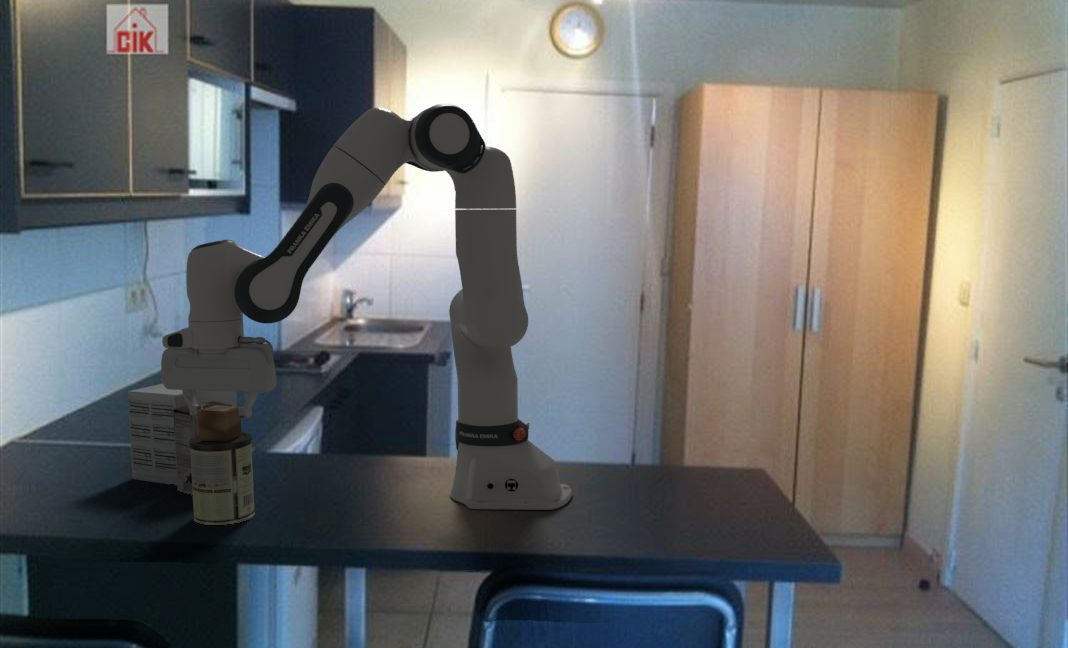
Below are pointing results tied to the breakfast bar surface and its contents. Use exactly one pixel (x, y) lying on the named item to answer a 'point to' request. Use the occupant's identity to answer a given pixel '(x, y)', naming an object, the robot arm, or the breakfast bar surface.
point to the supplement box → (160, 429)
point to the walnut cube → (219, 423)
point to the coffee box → (186, 443)
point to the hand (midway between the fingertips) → (220, 416)
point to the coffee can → (222, 480)
